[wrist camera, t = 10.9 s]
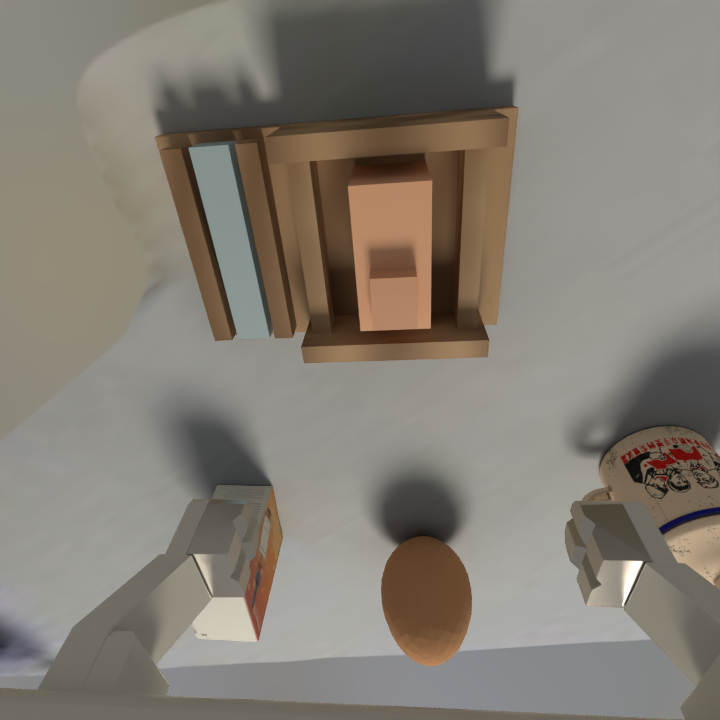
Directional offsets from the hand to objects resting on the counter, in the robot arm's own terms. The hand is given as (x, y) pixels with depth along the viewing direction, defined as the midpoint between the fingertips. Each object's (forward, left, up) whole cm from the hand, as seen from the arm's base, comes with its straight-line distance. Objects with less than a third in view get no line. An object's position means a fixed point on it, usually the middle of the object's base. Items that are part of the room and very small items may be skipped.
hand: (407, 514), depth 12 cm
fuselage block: (0, -1, -20) cm, 20 cm away
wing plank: (+10, -1, -20) cm, 22 cm away
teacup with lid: (-20, +21, -22) cm, 36 cm away
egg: (-2, +32, -22) cm, 38 cm away
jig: (+3, -1, -21) cm, 22 cm away
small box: (+15, +27, -22) cm, 38 cm away
